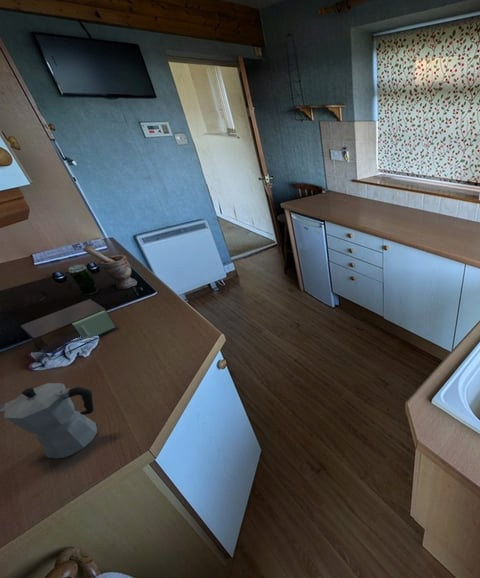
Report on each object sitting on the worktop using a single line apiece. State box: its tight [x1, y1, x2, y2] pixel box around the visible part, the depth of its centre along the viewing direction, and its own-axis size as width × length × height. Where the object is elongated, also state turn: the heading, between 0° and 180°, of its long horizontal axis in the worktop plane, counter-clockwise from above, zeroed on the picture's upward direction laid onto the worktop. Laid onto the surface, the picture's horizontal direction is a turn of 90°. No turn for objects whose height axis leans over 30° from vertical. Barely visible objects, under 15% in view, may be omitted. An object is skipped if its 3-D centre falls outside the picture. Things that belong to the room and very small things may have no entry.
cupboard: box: [20, 298, 120, 353], centre depth 99 cm, size 18×14×8 cm
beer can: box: [68, 264, 100, 296], centre depth 122 cm, size 5×5×12 cm
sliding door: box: [72, 310, 116, 339], centre depth 100 cm, size 9×2×7 cm, turn 151°
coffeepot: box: [0, 382, 98, 459], centre depth 66 cm, size 15×9×18 cm, turn 111°
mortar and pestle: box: [82, 245, 138, 290], centre depth 124 cm, size 12×9×20 cm
